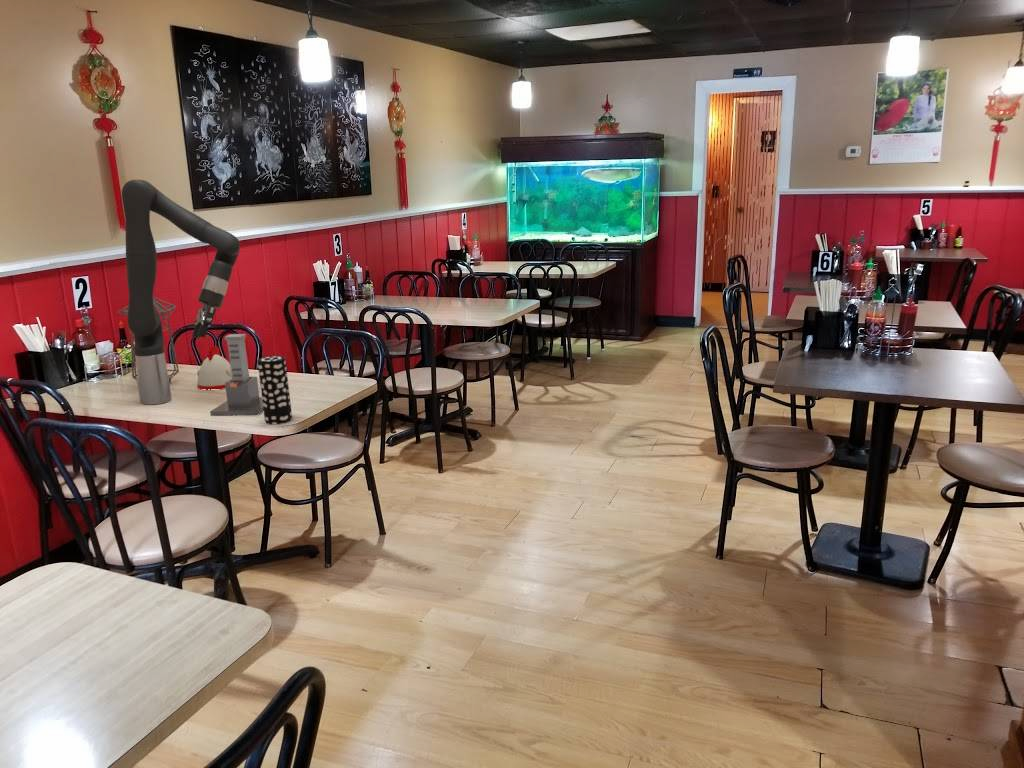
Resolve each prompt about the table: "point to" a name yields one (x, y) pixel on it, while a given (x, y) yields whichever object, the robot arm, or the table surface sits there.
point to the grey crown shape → (214, 371)
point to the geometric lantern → (162, 330)
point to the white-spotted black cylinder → (274, 389)
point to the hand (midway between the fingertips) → (198, 337)
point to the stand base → (240, 399)
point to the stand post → (238, 357)
